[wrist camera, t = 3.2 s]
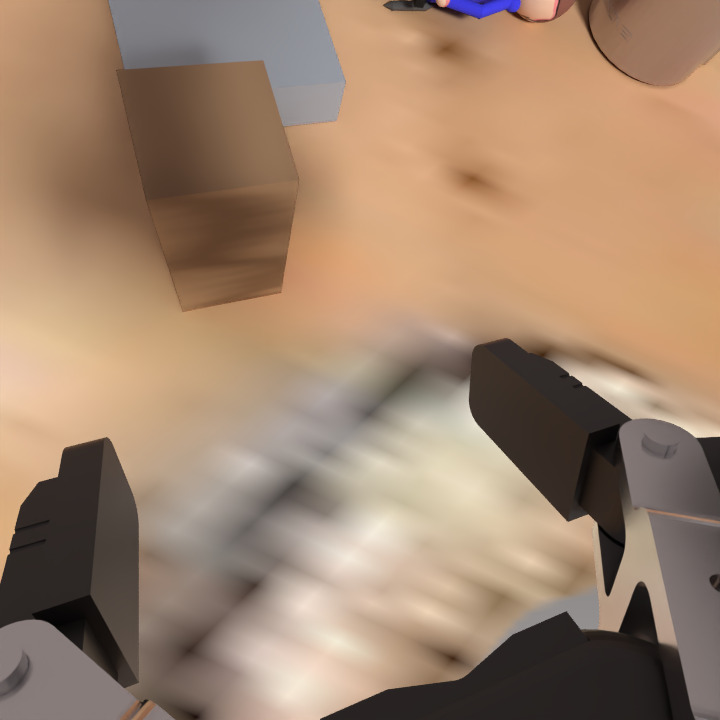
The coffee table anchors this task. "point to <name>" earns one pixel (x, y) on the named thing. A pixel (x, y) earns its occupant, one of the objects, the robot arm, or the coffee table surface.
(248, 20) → the blue-grey square slab
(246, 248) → the walnut block
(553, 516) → the coffee table surface
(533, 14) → the figurine character
